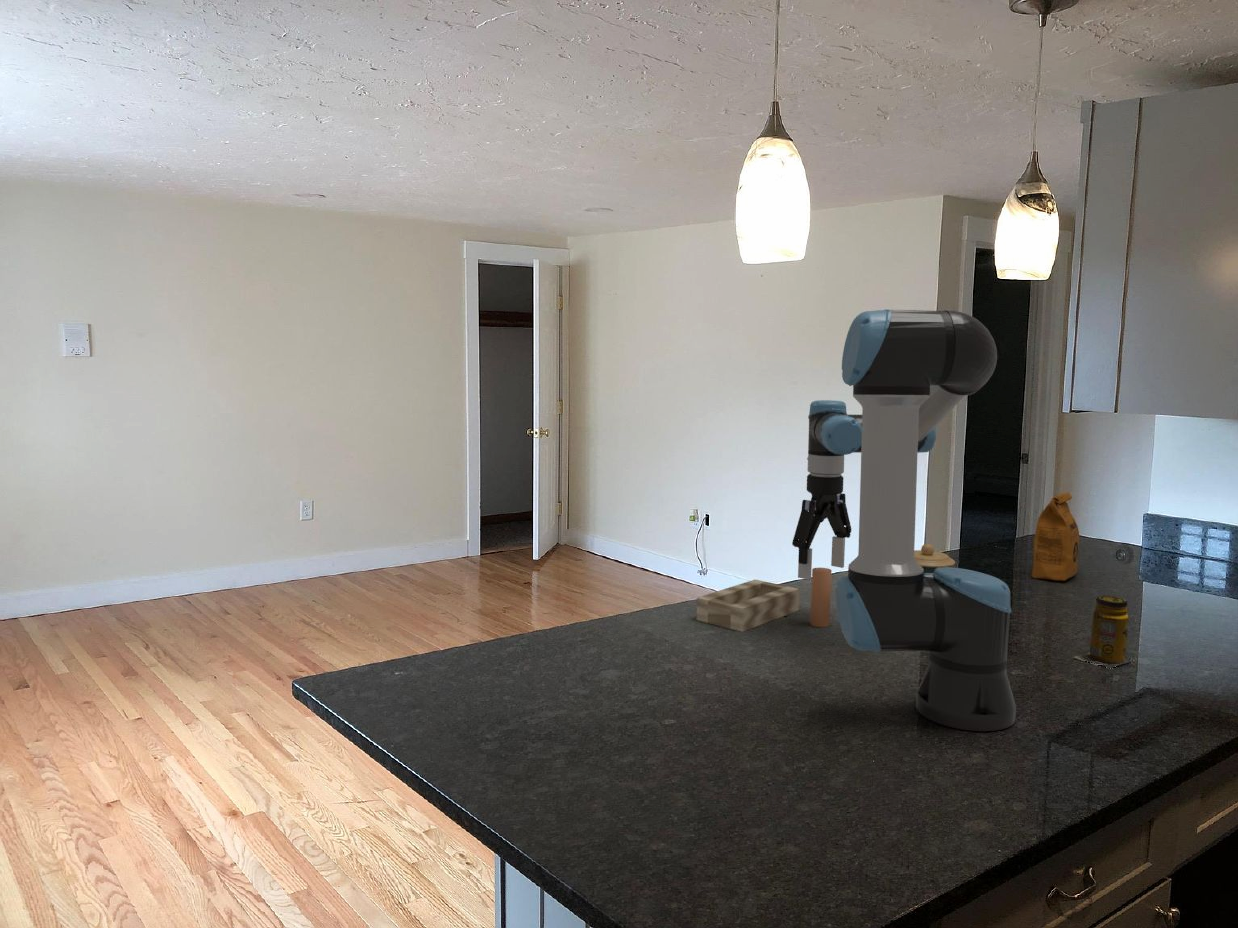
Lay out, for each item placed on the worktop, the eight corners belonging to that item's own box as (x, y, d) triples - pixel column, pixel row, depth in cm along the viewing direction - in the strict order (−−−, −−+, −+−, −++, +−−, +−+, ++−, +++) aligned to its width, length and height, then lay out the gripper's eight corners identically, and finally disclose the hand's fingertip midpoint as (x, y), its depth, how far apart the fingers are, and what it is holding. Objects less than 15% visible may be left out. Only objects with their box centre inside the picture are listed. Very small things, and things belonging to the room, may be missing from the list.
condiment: (1134, 661, 173) (1139, 600, 172) (1110, 670, 169) (1115, 607, 167) (1097, 651, 179) (1101, 591, 178) (1073, 658, 175) (1077, 597, 173)
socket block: (742, 631, 190) (742, 608, 189) (696, 619, 198) (697, 597, 197) (798, 610, 206) (799, 588, 205) (754, 600, 214) (754, 579, 213)
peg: (823, 628, 192) (825, 573, 191) (806, 624, 195) (808, 569, 194) (833, 624, 195) (835, 569, 194) (816, 620, 198) (818, 566, 197)
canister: (935, 637, 187) (940, 553, 185) (880, 622, 197) (884, 542, 194) (967, 625, 196) (971, 544, 193) (913, 611, 205) (916, 535, 203)
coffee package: (1083, 577, 238) (1089, 494, 235) (1065, 585, 229) (1071, 499, 227) (1044, 570, 245) (1050, 489, 242) (1025, 577, 237) (1031, 494, 234)
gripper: (839, 466, 203) (835, 559, 206) (777, 478, 185) (774, 580, 188) (870, 469, 198) (865, 564, 201) (809, 482, 180) (805, 587, 183)
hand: (821, 572), depth 194 cm, fingers open, 13 cm apart
